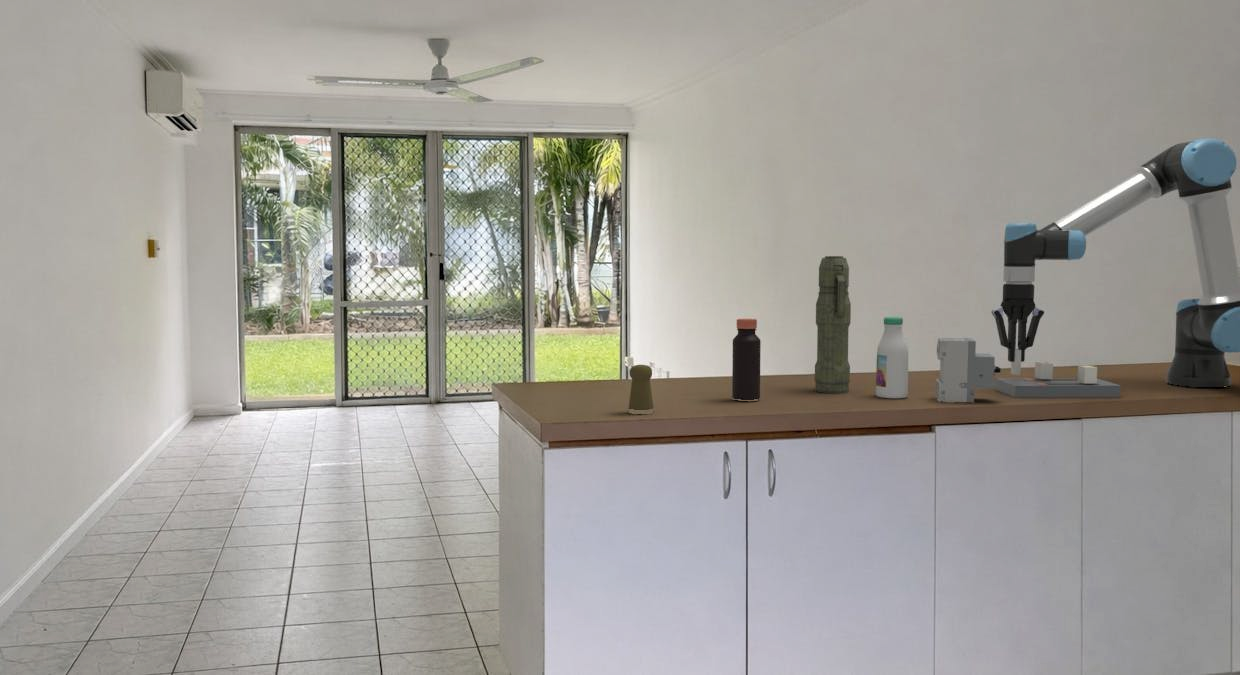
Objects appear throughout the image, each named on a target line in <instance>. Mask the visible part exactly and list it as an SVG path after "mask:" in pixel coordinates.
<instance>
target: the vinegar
mask: <svg viewBox="0 0 1240 675" xmlns="http://www.w3.org/2000/svg"><path fill="white" fill-rule="evenodd" d="M757 325H758V320H757V319H756V318H737V319H736V331H737V334H736V336H735V337H734V338H732V373H731V374H732V379H731V380H732V388H731V389H732V390H731V392H732V393H731V394H732V398H734V399H741V400H754V399H759V398H760V399H761V346H762V345H761V344H762V342H761V338H760V337H759V336H758V335H757V334H756V331H757V330H758V329H757Z"/></svg>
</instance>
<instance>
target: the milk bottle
mask: <svg viewBox="0 0 1240 675" xmlns="http://www.w3.org/2000/svg"><path fill="white" fill-rule="evenodd" d="M903 323H904V319H903V317H901V316H884V318H883V327H884V330H883V334H882V336H881V338H880V341H879V343H878V346H877V351H876V374H875V376H876V377H875V378H876V379H875V380H876V381H875V395H876V397H877V398H882V399H883V398H884V399H905V398H907V397H908V395H909V394H908V393H909V387H908V386H909V347H908V345H907V342H906V339H905V337H904V334H903V330H902V328H903V326H904V325H903Z"/></svg>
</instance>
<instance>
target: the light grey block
mask: <svg viewBox="0 0 1240 675" xmlns="http://www.w3.org/2000/svg"><path fill="white" fill-rule="evenodd" d="M1053 376H1054V363H1053V362H1048V361H1035V362H1034V378H1039V379H1053V378H1054V377H1053Z"/></svg>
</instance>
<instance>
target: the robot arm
mask: <svg viewBox="0 0 1240 675" xmlns="http://www.w3.org/2000/svg"><path fill="white" fill-rule="evenodd" d="M1236 170H1237V157H1236V154H1235V152H1234V150H1233V149H1232V148H1231V146H1230V145H1229V144H1227V143H1225V142H1224V141H1222V140H1220V139H1218V138H1217V139H1216V138H1200V139H1199V138H1198V139H1196V140H1192V141H1186V142H1180V143H1177V144H1174V145H1172V146H1170V147H1168V148H1167V149H1165V150H1163V151H1161V153H1158V154H1157V155H1155V156H1153V157H1152V158H1150V160H1147V161H1146V162H1145V163H1143V164H1141V165H1139V166H1138V167H1137V168H1136V170H1135V173H1134V174H1132V175H1131V176H1129V177H1128V178H1126V179H1123V180H1122V181H1120V182H1119V183H1117V184H1116V185H1114V186H1111V187H1110V188H1109V189H1107V190H1105V191H1103V192H1102V193H1100V194H1099V195H1097V196H1095V197H1094V198H1092V199H1090V200H1088V201H1087V202H1085V203H1084V204H1081V205H1080V206H1078V207H1076V208H1075V209H1072V210H1071V211H1069V212H1068V213H1066V214H1064V215H1063V216H1061V217H1059V218H1057V219H1056V220H1055V221H1053V222H1051V223H1050V224H1048V225H1046V226H1044V227H1043V228H1041V229H1038V228H1037V224H1036V223H1035V222H1010V223H1008V224H1006V225H1005V228H1004V238H1003V243H1004V244H1003V247H1004V248H1003V274H1002V275H1003V280H1002V281H1003V282H1005V283H1003V285H1002V300H1001V303H1000V306H999V307H997V308H996V309H993V310H991V314H992V316H993V318H994V319H995V324H996V328H997V333H998V334H997V335H998V337H999V338H998V339H999V343H1000V345H1001V346H1002V347H1004V348H1006V349H1007V361H1008V362H1010V364H1011V366H1010V375H1012V376H1013V375H1014V376H1021V371H1022V370H1021V369H1022V368H1021V367H1022V363H1024V362H1025V354H1026V350H1027V349H1028V348H1032V347H1033V346H1034V342H1035V338H1036V335H1037V332H1038V327H1039V324H1040V321H1041V319H1042V317H1043V315H1044V314H1045V311H1044V310H1041V309H1039V308H1038V307H1036V303H1035V301H1034V299H1035V285H1034V284H1033V283H1034V282H1035V280H1036V279H1035V278H1036V276H1035V275H1036V274H1035V273H1036V260H1037V261H1043V260H1044V261H1074V260H1080V259H1082V258H1083V257H1084V256H1085V253H1086V251H1087V239H1086V238H1087V236H1089V235H1090V234H1091V233H1093V232H1095V231H1096V230H1098V229H1100V228H1101V227H1104V226H1105V225H1106V224H1109V223H1110V222H1112V221H1114V220H1115V219H1117V218H1119V217H1120V216H1123V215H1124V214H1126V213H1128V212H1129V211H1130V210H1132V209H1134V208H1136V207H1138V206H1139V205H1141V204H1142V203H1145V202H1146V201H1147V200H1149V199H1151V198H1153V199H1159V198H1160V197H1162V196H1164V195H1166V194H1168V193H1171V192H1174V191H1178V192H1177V193H1178V196H1179V199H1180V200H1182V202H1183V201H1184V202H1185V203H1186V205H1187V209H1188V214H1189V216H1188V217H1189V220H1190V221H1189V222H1190V227H1191V228H1190V229H1191V232H1192V238H1193V239H1192V240H1193V244H1194V250H1195V256H1196V263H1197V268H1198V274H1199V279H1200V285H1201V292H1202V296H1201V297H1200V298H1187V299H1182V300H1180V301H1179V302H1178V303H1177V306H1176V311H1175V316H1176V317H1175V320H1176V321H1175V345H1174V357H1173V358H1172V361H1171V364H1170V366H1169V368H1168V371H1167V373H1166V376H1165V377H1166V382H1167V383H1166V384H1168V383H1169V384H1168V385H1171V384H1173V386H1177V385H1179V386H1178V387H1185V386H1189V387H1188V388H1196V387H1224V386H1229V385H1231V384H1232V379H1231V377H1232V376H1231V374H1230V370H1229V368H1228V365H1227V361H1226V358H1225V353H1230V354H1231V353H1240V273H1239V267H1238V265H1239V264H1238V261H1237V260H1238V259H1237V254H1236V248H1235V243H1234V237H1233V236H1234V235H1233V231H1232V230H1233V229H1232V225H1231V224H1232V223H1231V219H1230V212H1229V211H1230V210H1229V206H1228V202H1227V196H1228V194H1229V193H1230V191H1231V190H1232V189H1233V187H1232V181H1231V178H1232V177H1233V175H1234V173H1235V172H1236ZM1003 312H1004V313H1003ZM1004 314H1005V315H1006V317H1007V330H1006V327H1005V320H1004V317H1003V316H1004ZM1030 315H1032V316H1031V320H1030V323H1029V327H1028V330H1027V325H1028V318H1029V316H1030ZM1017 323H1018V324H1017ZM1017 325H1018V326H1017ZM1016 344H1017V345H1016ZM1016 346H1017V348H1016ZM1231 386H1232V385H1231Z"/></svg>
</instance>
